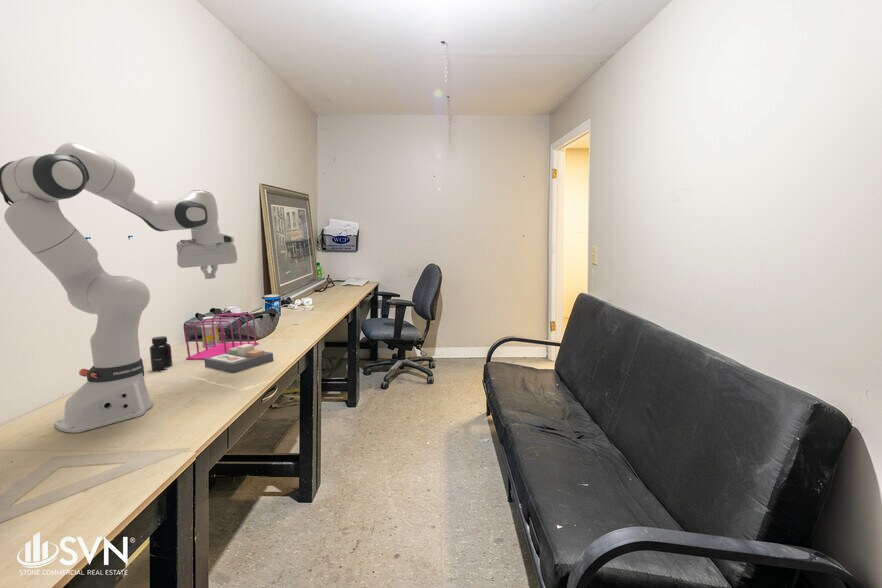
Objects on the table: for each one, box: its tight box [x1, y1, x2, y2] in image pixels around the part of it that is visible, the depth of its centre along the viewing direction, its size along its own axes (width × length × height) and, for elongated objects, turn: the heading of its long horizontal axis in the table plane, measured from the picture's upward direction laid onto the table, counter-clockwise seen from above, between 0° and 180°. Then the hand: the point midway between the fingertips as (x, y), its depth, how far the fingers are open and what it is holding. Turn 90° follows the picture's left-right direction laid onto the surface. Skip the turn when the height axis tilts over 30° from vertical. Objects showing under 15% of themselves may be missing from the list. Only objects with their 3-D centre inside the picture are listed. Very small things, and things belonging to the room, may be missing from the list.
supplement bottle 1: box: [149, 335, 173, 372], centre depth 174 cm, size 7×7×12 cm
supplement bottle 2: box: [200, 316, 221, 348], centre depth 209 cm, size 7×7×13 cm
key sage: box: [228, 347, 237, 354], centre depth 180 cm, size 4×4×4 cm
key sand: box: [237, 344, 255, 356], centre depth 177 cm, size 4×4×4 cm
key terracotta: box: [246, 349, 265, 358], centre depth 175 cm, size 4×4×4 cm
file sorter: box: [184, 312, 259, 361], centre depth 193 cm, size 17×25×16 cm
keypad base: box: [203, 350, 274, 374], centre depth 175 cm, size 17×17×4 cm
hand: (210, 278), depth 163 cm, fingers closed
